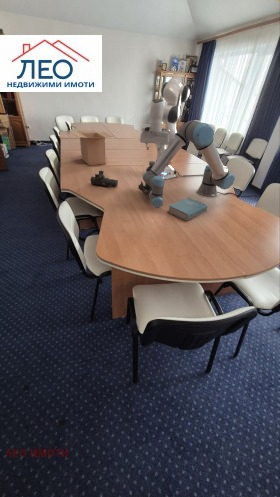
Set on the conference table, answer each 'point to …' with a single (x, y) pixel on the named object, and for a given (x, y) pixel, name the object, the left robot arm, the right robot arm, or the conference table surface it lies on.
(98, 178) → the laser sight
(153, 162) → the cap
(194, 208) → the book
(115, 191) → the conference table surface
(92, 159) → the box
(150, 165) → the bottle
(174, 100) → the left robot arm
